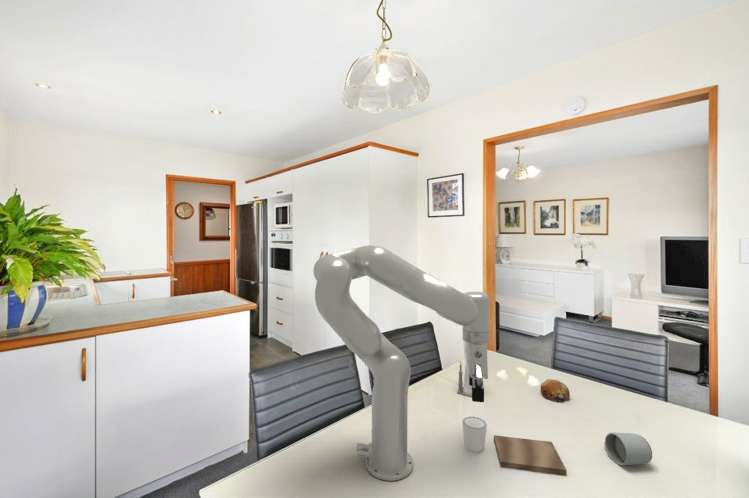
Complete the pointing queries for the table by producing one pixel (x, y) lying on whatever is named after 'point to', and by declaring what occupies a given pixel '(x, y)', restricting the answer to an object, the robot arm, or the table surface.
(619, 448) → the ceramic mug
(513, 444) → the walnut board
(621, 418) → the table surface
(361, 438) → the table surface
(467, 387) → the skyscraper
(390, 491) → the table surface
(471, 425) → the white short cylinder
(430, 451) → the table surface
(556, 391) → the bread roll
